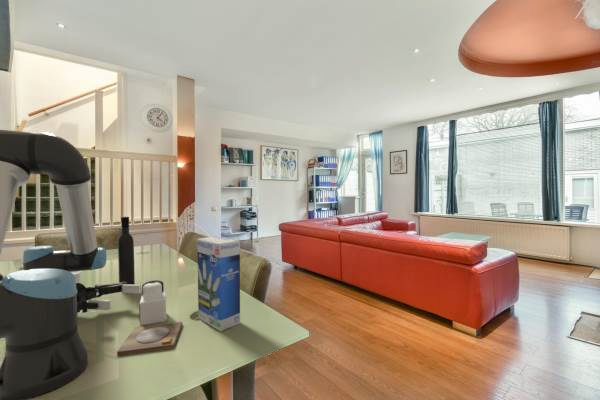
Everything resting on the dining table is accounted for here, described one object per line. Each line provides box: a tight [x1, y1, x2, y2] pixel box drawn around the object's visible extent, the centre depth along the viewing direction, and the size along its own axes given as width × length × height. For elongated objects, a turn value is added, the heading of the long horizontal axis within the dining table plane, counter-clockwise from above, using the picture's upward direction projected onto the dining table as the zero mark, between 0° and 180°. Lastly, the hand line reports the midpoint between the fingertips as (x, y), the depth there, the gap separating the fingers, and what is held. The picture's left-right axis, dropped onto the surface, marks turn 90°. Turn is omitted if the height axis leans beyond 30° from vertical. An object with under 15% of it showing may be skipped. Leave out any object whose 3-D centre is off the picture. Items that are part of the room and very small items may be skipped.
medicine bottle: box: [138, 279, 167, 327], centre depth 88 cm, size 7×7×12 cm
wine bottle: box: [117, 216, 136, 285], centre depth 120 cm, size 6×6×30 cm
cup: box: [71, 271, 82, 283], centre depth 114 cm, size 7×10×8 cm
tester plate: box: [116, 321, 183, 357], centre depth 77 cm, size 13×13×2 cm
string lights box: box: [196, 235, 241, 332], centre depth 87 cm, size 13×8×26 cm, turn 48°
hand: (126, 296), depth 89 cm, fingers open, 13 cm apart
